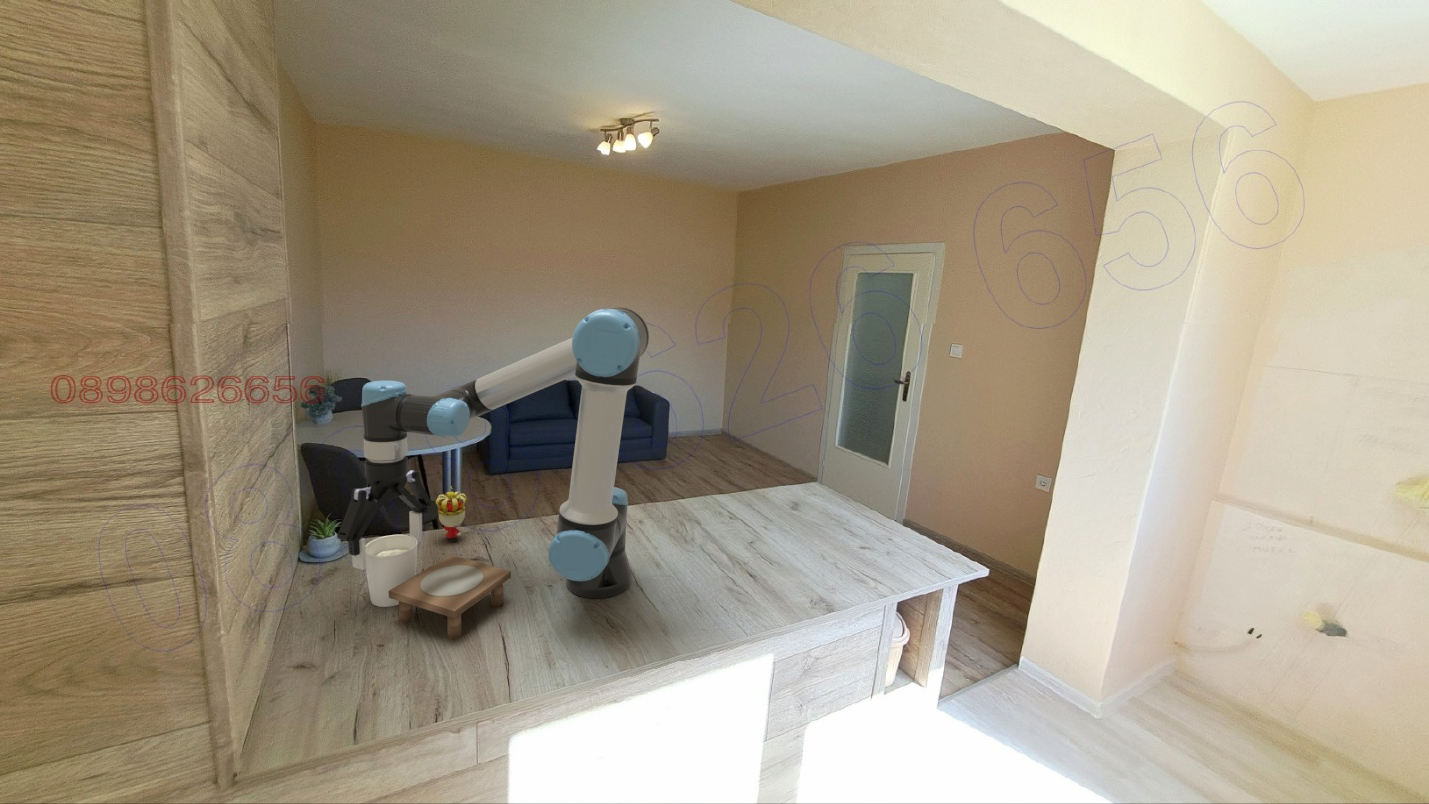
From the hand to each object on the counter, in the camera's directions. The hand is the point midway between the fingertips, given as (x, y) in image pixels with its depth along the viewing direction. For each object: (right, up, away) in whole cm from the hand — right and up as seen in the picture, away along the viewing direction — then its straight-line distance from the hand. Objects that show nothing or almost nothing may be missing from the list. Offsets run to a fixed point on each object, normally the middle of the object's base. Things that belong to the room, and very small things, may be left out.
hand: (389, 553), depth 114 cm
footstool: (+14, -12, -1) cm, 18 cm away
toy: (0, -5, +28) cm, 28 cm away
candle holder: (0, -10, +2) cm, 10 cm away
